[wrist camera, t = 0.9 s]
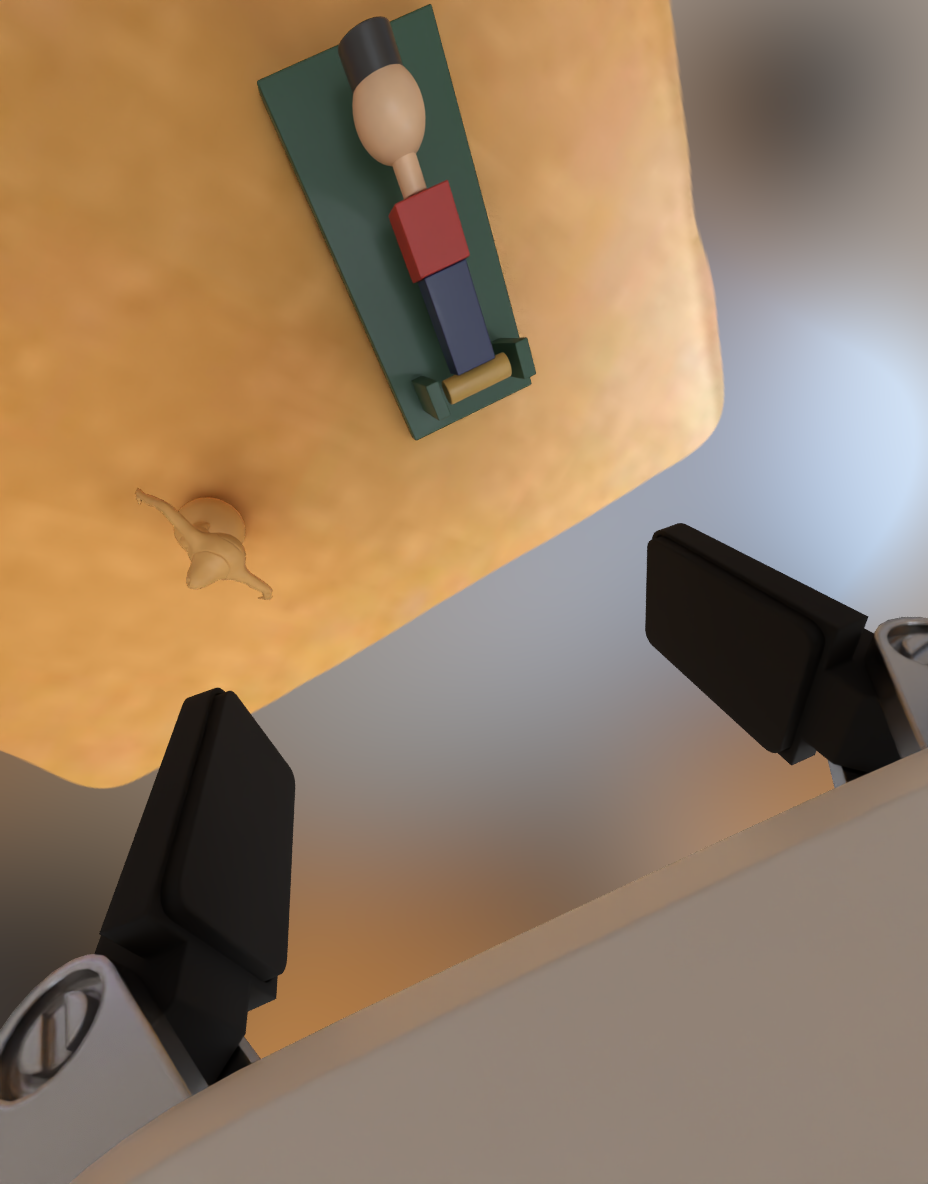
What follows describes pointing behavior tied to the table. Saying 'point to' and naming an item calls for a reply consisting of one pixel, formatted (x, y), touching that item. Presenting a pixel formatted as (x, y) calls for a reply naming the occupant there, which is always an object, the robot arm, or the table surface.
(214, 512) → the figurine
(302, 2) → the table surface
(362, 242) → the stand
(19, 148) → the table surface
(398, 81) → the toy soldier
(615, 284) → the table surface
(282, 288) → the table surface
